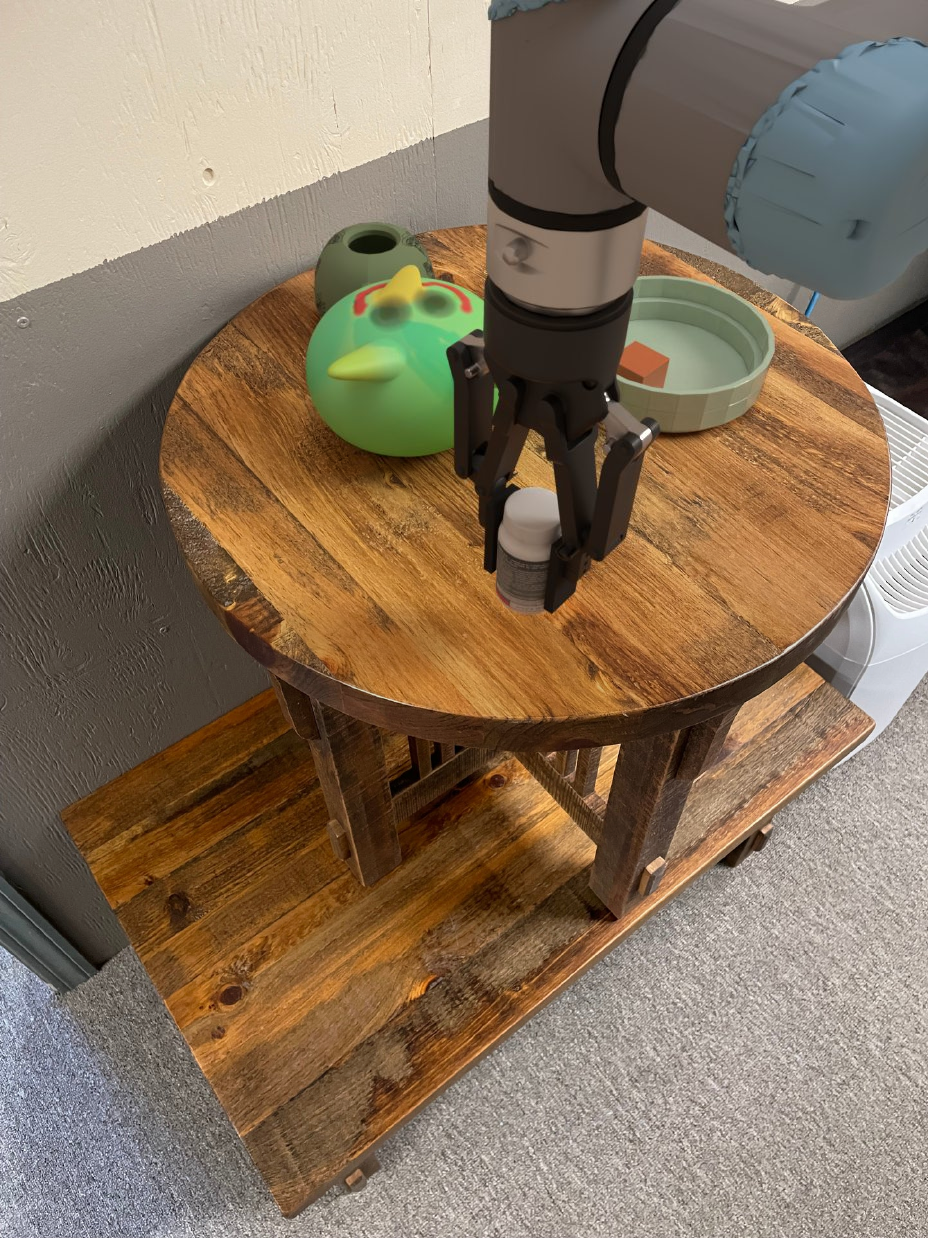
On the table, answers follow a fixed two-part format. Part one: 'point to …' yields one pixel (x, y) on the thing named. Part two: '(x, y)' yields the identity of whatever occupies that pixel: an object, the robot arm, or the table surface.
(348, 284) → the mug
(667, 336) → the bowl
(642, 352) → the block
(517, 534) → the pill bottle
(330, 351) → the toy bird
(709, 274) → the table surface
